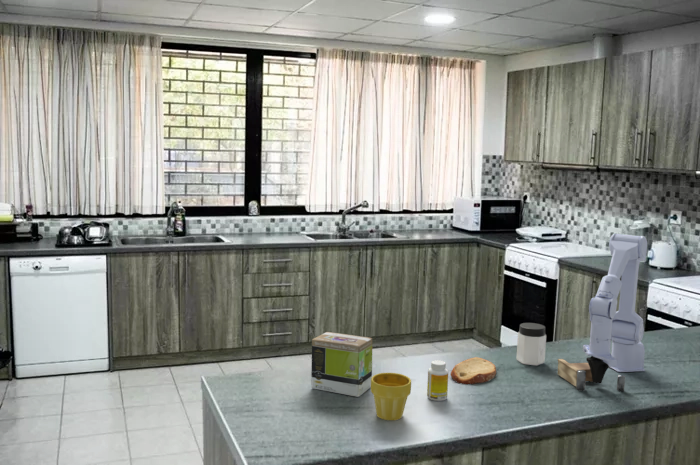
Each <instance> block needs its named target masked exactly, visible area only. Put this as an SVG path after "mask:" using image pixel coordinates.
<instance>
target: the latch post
mask: <svg viewBox="0 0 700 465" xmlns="http://www.w3.org/2000/svg"><path fill="white" fill-rule="evenodd" d="M616 381H617V382H616V391H617V392H620V391H621V392H625V382H626V375H624V374H617V380H616Z"/></svg>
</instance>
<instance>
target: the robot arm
mask: <svg viewBox="0 0 700 465" xmlns="http://www.w3.org/2000/svg"><path fill="white" fill-rule="evenodd" d="M608 246H609V252H610V256H611V260H610V263H609V267H608V272H607V275H604V276H603V277H602V278H601V281H600V283H599V286H598V289H597V292H596V293H595V296H594V297H592V298H591V299H590V301H589V305H588V313H589V321H590V334H589V344H583V346H582V352H583V353H585V355H586V356H587V357H586V361H587V362H586V363H588V364H589V366H590V370H591V374H592V380H593V381H592V382H593V383H594V384H602V383H603V380H604V377H605V375H606V372H607V370H608V369H609V368H610V369H613V370H615V371H616V372H617V373H629V372H645V371H646V369H645V368H644V367H645V354H646V350H645V345H644V344H643V342H642V340H643V338H644V332H645V326H644V318H642V317H641V316H640V315H639V314H638V313H637V312H636V302H637V293H638V292H637V290H638V281H639V280H638V279H639V267H640V265H641V264H640V263H641V262H643V261H646V258H647V251H648V239H647V238H646V236H644V235H634V234H623V233H617V232H615V233H613V234H611V235H610V238H609V244H608ZM618 298H619V301H618ZM617 307H618V308H617ZM617 309H618V310H617ZM611 342H612V343H611ZM588 356H589V357H588Z"/></svg>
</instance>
